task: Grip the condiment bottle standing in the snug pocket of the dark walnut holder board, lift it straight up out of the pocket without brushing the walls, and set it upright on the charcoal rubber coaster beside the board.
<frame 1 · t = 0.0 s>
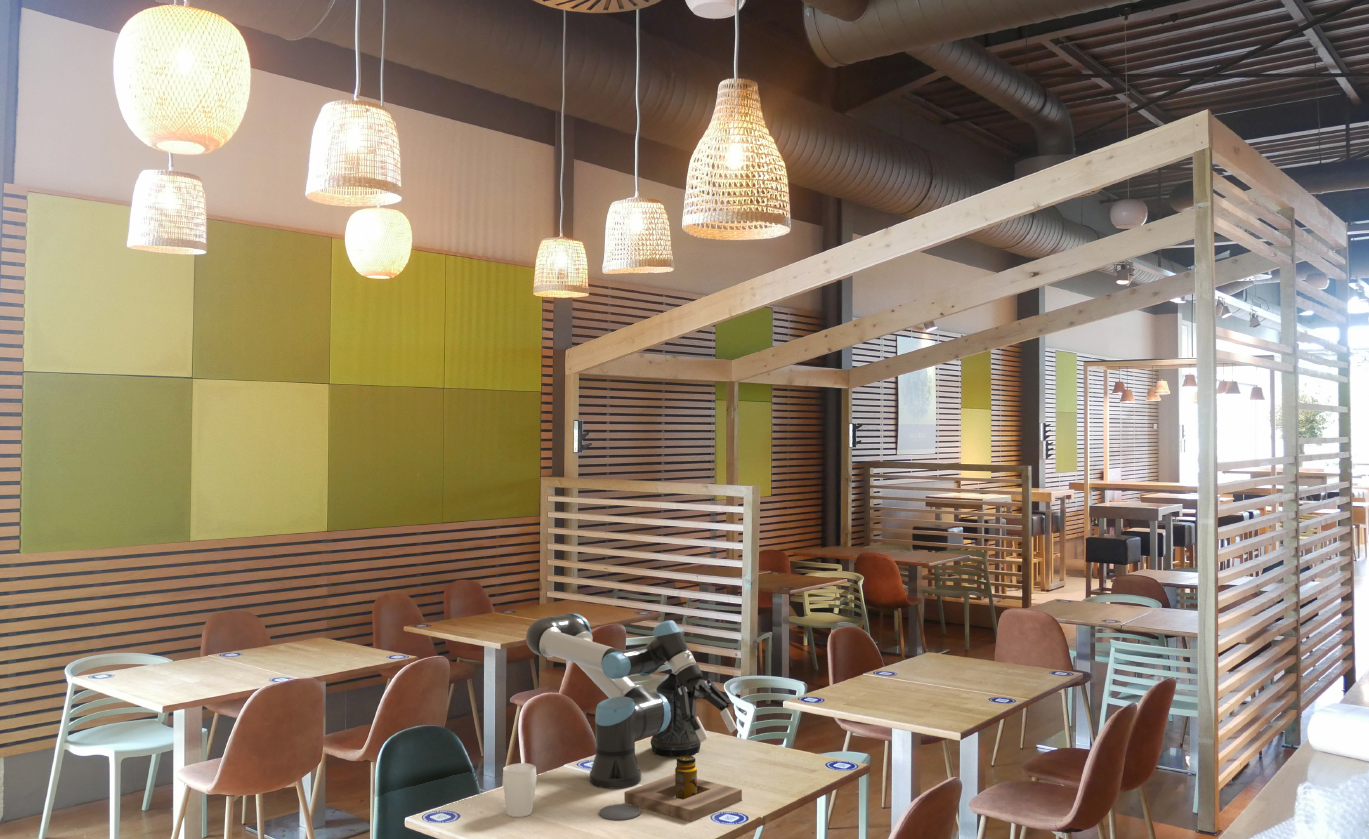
hand: (719, 735, 295), 15 cm above the table, tool tilted 35°, fingers open, 13 cm apart
holder board: (683, 801, 283), on the table
condiment: (683, 802, 283), resting in holder board
cup: (519, 813, 275), on the table
coaster: (620, 813, 274), on the table
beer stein: (678, 752, 334), on the table
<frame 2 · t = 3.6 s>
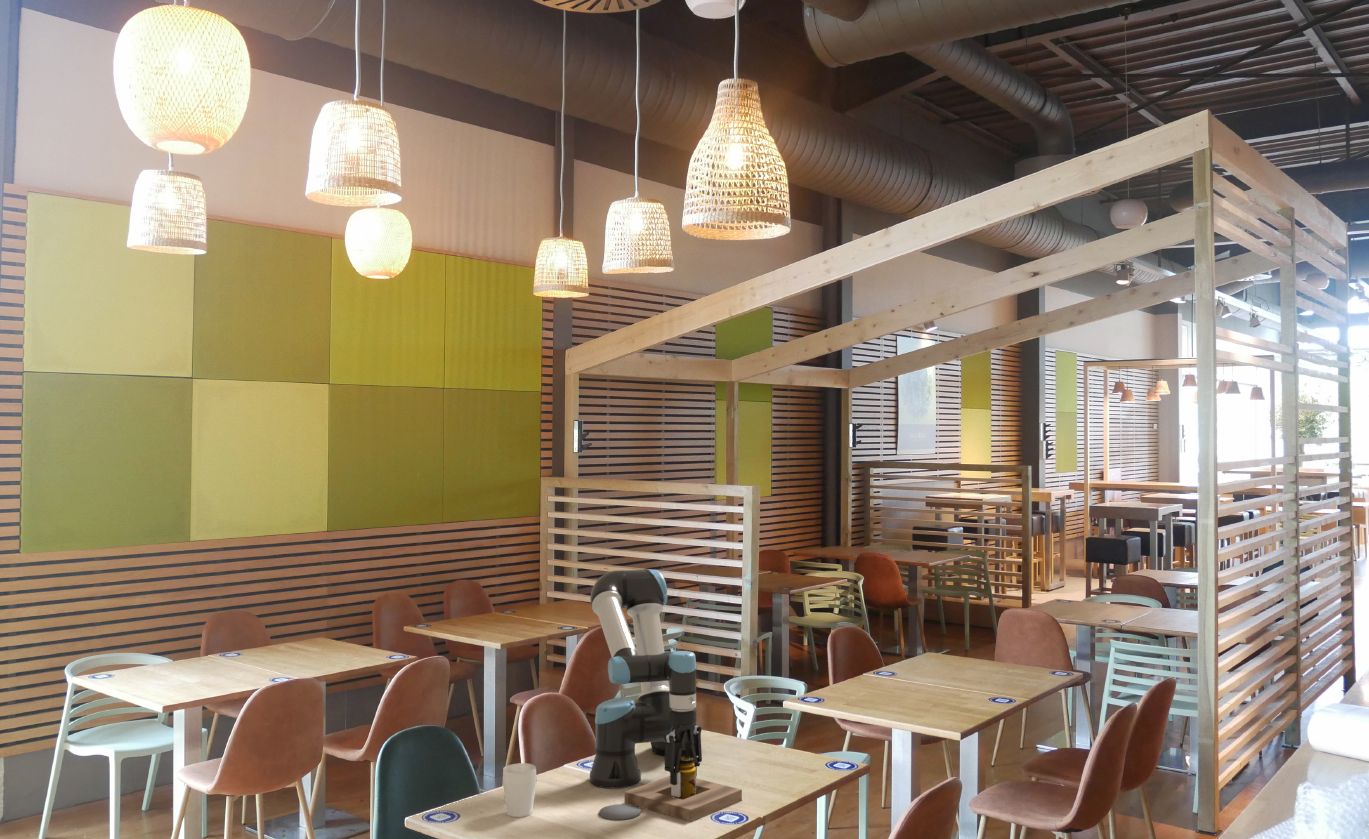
hand: (683, 792, 284), 2 cm above the table, tool pointing down, fingers closed on condiment, 6 cm apart
condiment: (682, 803, 283), resting in holder board, touching gripper
everything else where it was.
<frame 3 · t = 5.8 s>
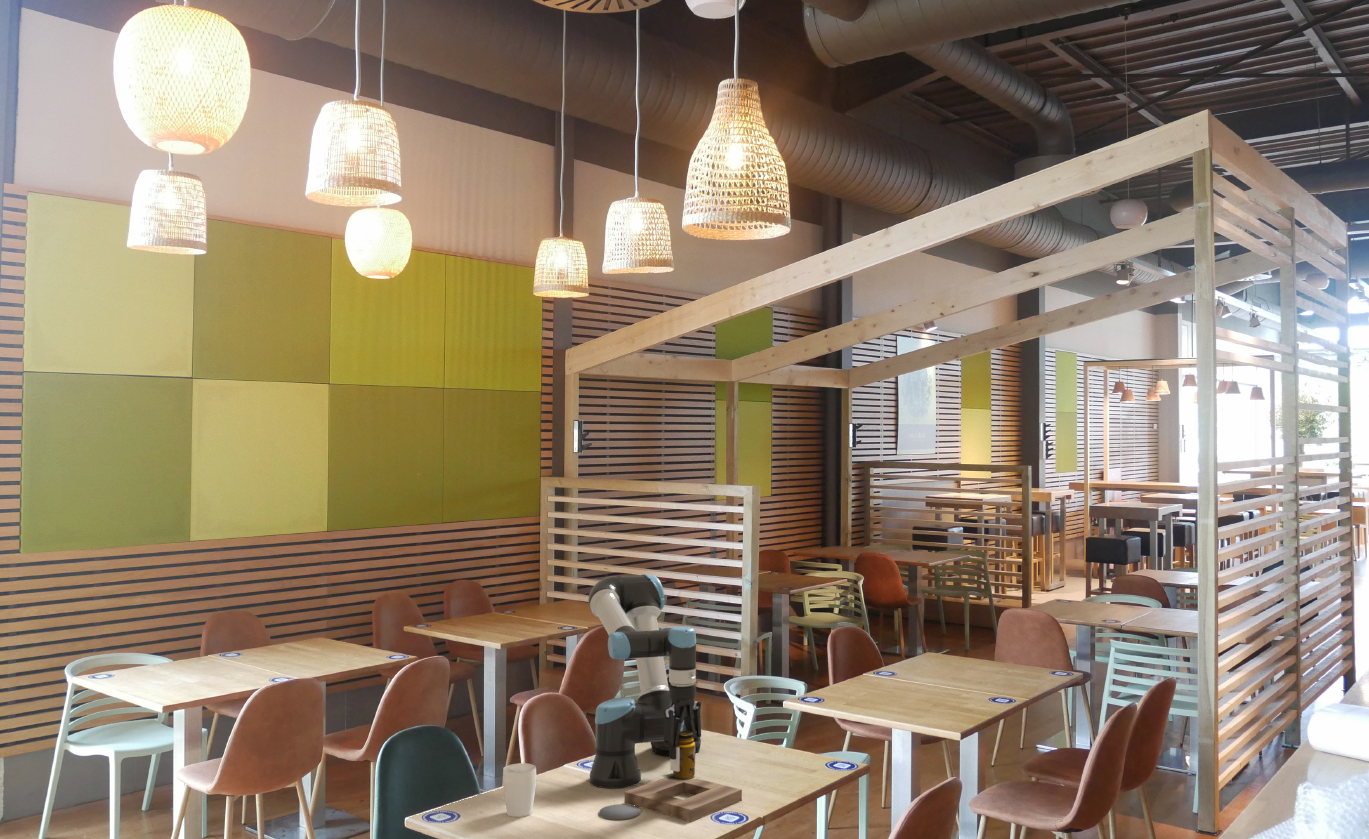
hand: (682, 767, 284), 9 cm above the table, tool pointing down, fingers closed on condiment, 6 cm apart
condiment: (681, 777, 283), point 7 cm above the table, touching gripper
everything else where it was.
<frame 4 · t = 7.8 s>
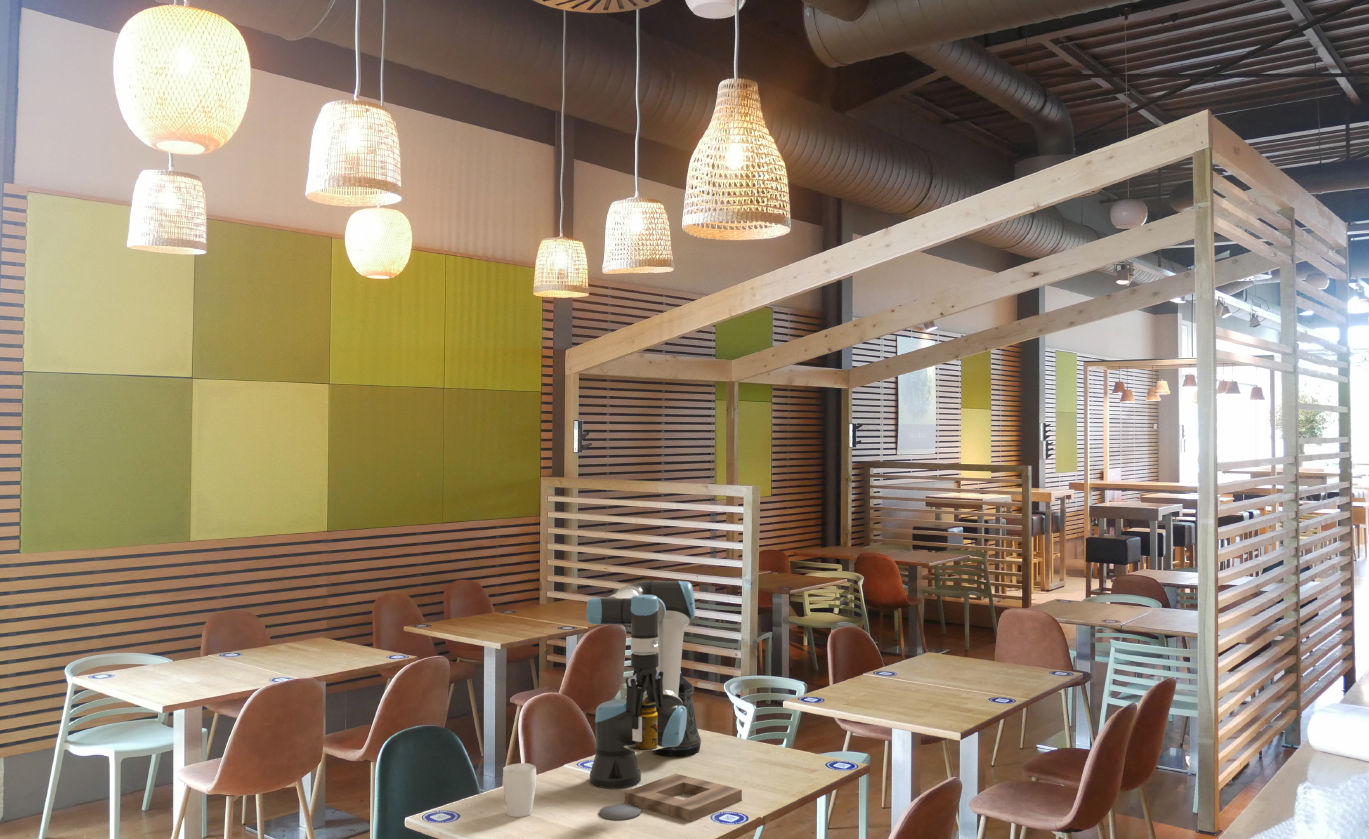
hand: (645, 737, 278), 19 cm above the table, tool pointing down, fingers closed on condiment, 6 cm apart
condiment: (643, 748, 278), point 16 cm above the table, touching gripper
everything else where it was.
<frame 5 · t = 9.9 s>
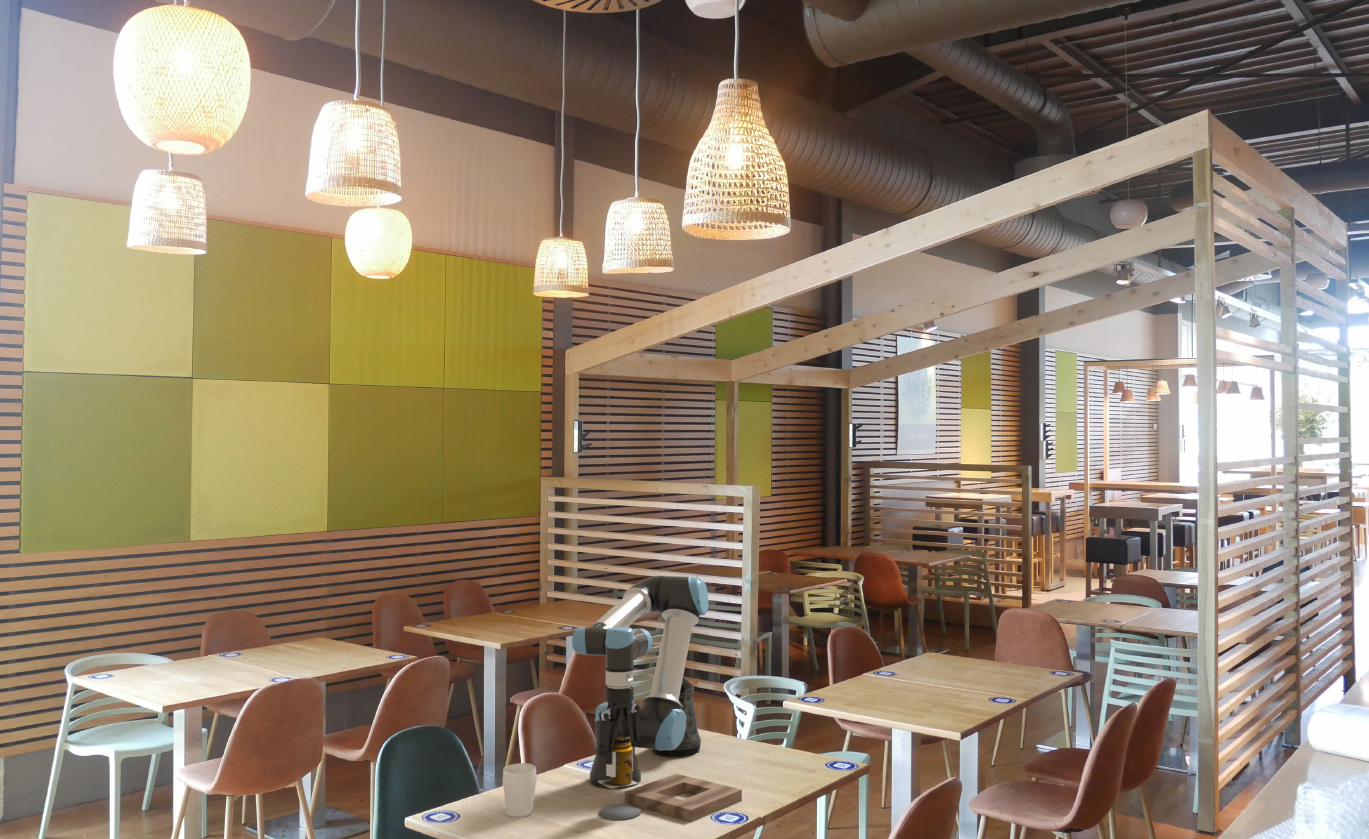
hand: (619, 772, 274), 11 cm above the table, tool pointing down, fingers closed on condiment, 6 cm apart
condiment: (617, 783, 274), point 8 cm above the table, touching gripper
everything else where it was.
when the fingers open (4 cm above the table, at t = 11.8 s): condiment drops 1 cm, resting on coaster.
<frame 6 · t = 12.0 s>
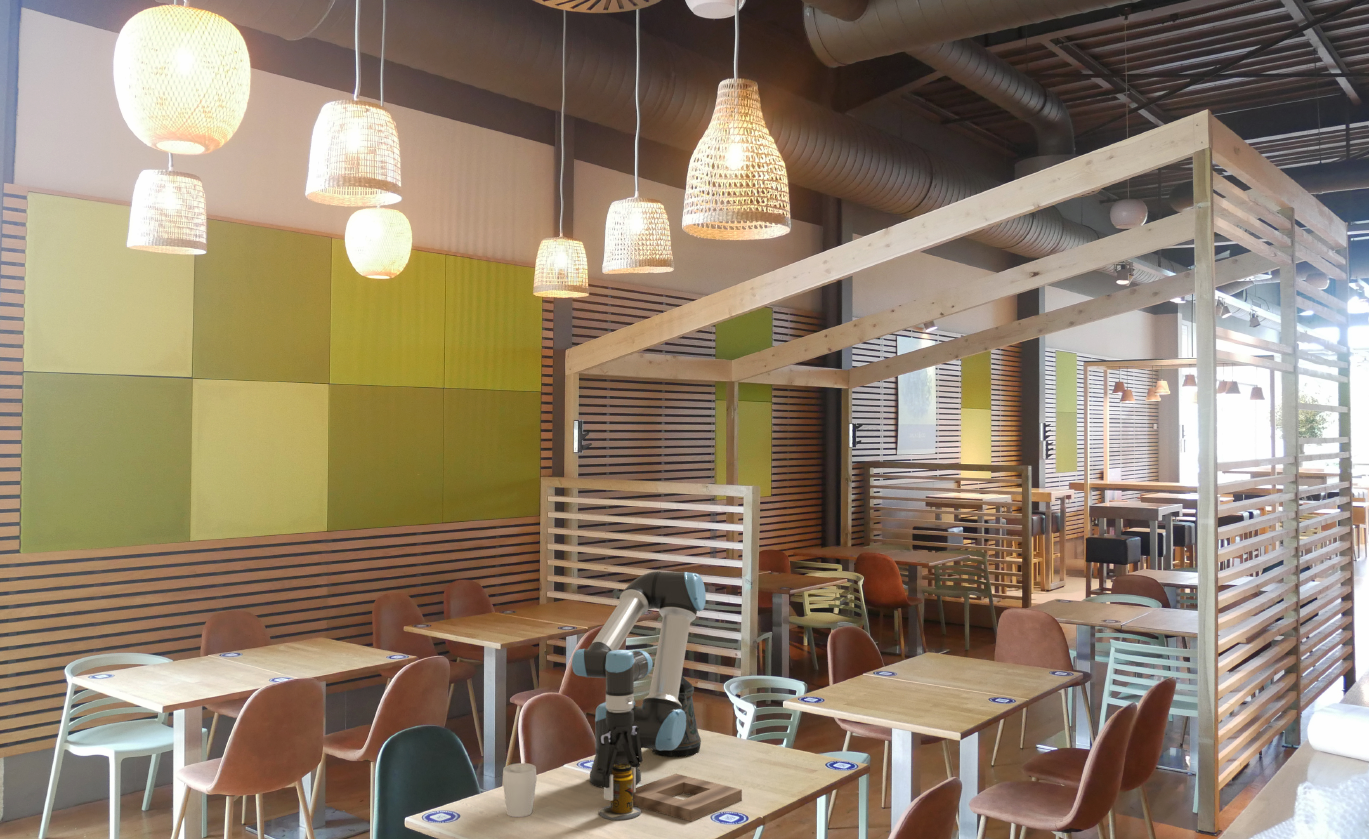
hand: (620, 794, 274), 5 cm above the table, tool pointing down, fingers open, 8 cm apart
condiment: (618, 812, 274), resting on coaster
everything else where it was.
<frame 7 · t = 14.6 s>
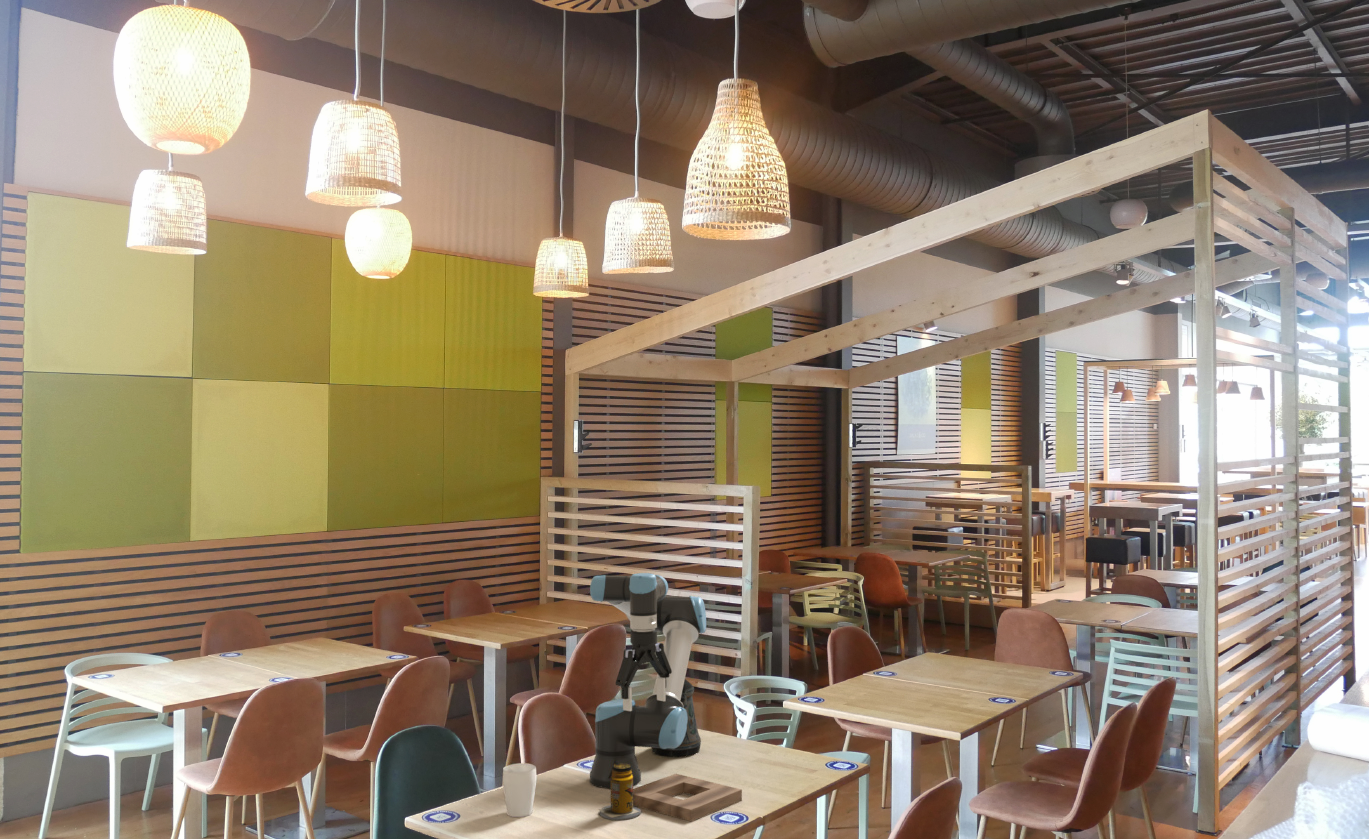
hand: (644, 705, 287), 26 cm above the table, tool pointing down, fingers open, 13 cm apart
nothing on the table moved.
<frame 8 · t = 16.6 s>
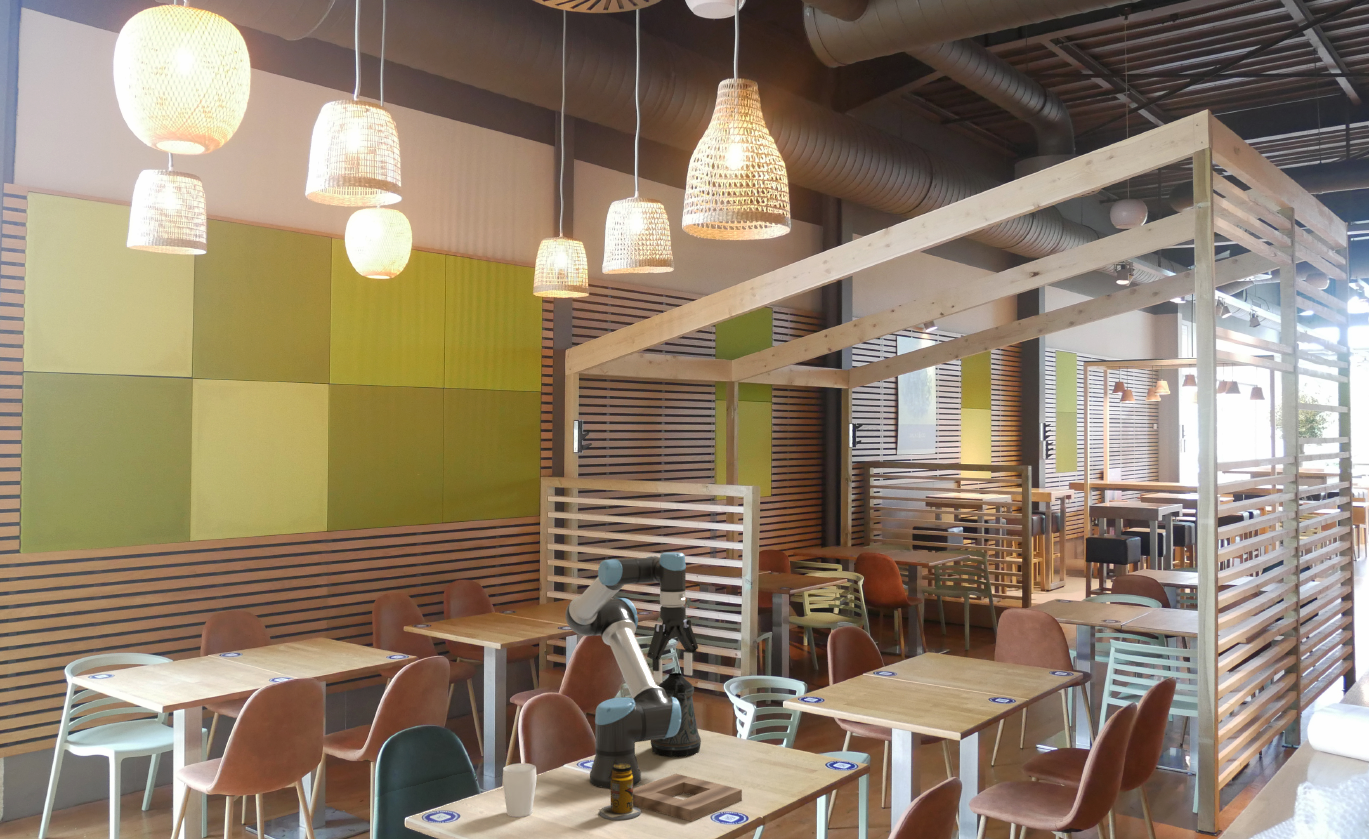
hand: (673, 678, 300), 31 cm above the table, tool pointing down, fingers open, 13 cm apart
nothing on the table moved.
at the end: condiment inside the target area (0.6 cm from its centre), resting on coaster; condiment tilted 0°; the gripper is holding nothing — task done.
